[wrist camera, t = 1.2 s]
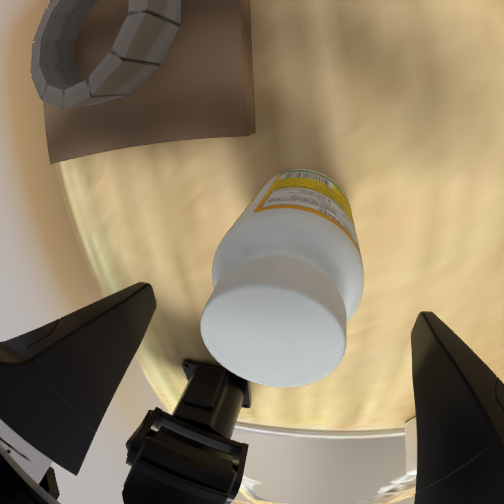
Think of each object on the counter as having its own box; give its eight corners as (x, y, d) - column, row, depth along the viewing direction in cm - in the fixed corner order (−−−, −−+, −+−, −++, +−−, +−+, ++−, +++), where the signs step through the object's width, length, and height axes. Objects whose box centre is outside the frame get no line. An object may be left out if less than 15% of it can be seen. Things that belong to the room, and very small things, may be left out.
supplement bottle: (317, 148, 13) (309, 211, 5) (366, 231, 14) (399, 371, 6) (236, 199, 15) (143, 306, 7) (288, 270, 17) (251, 408, 9)
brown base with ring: (255, 133, 13) (223, 143, 9) (68, 157, 17) (20, 176, 13) (244, -73, 6) (217, -113, 2) (67, -2, 10) (22, -6, 5)
